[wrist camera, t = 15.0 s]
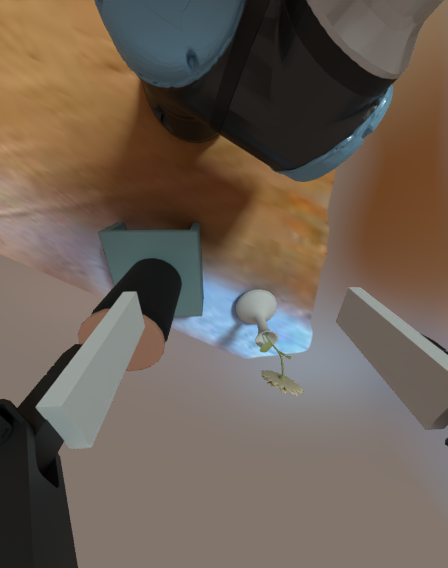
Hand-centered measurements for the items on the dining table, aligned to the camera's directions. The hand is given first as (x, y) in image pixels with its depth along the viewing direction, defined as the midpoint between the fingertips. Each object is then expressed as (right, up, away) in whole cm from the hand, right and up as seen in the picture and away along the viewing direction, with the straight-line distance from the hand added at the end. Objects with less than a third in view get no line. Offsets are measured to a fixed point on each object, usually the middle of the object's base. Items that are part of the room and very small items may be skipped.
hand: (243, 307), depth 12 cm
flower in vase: (+8, -5, +43) cm, 44 cm away
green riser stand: (-16, +6, +35) cm, 39 cm away
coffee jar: (-15, +2, +29) cm, 33 cm away
